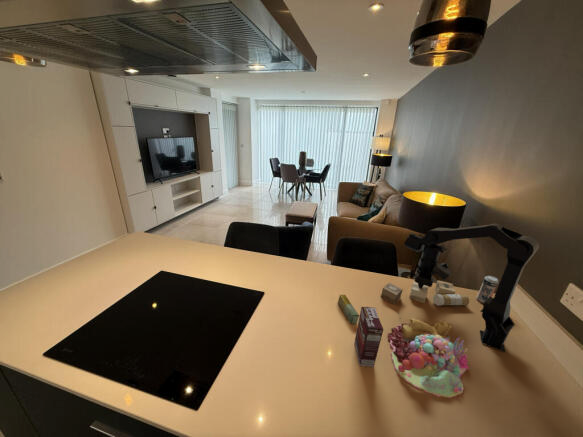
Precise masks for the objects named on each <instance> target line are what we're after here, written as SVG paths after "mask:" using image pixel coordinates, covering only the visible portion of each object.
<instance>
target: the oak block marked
mask: <svg viewBox="0 0 583 437" xmlns="http://www.w3.org/2000/svg"><path fill="white" fill-rule="evenodd" d="M434 292H435V294H441V295H446V294H456V289H455V287H454V284H453V283H450V282H447V281H443V280H437V281H436V284H435V287H434Z"/></svg>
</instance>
